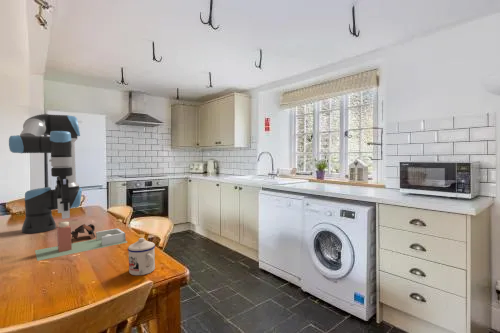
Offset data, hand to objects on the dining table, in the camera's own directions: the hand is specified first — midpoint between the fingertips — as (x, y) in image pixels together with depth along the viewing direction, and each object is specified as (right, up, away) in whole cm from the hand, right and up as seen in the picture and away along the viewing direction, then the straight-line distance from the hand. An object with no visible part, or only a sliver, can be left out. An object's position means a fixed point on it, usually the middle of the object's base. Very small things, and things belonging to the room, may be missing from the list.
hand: (63, 215), depth 120 cm
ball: (+15, -13, +9) cm, 22 cm away
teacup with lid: (+44, -16, -23) cm, 52 cm away
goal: (+14, -14, +12) cm, 24 cm away
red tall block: (0, -15, 0) cm, 15 cm away
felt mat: (+6, -15, +5) cm, 17 cm away
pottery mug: (-1, -15, +18) cm, 23 cm away
